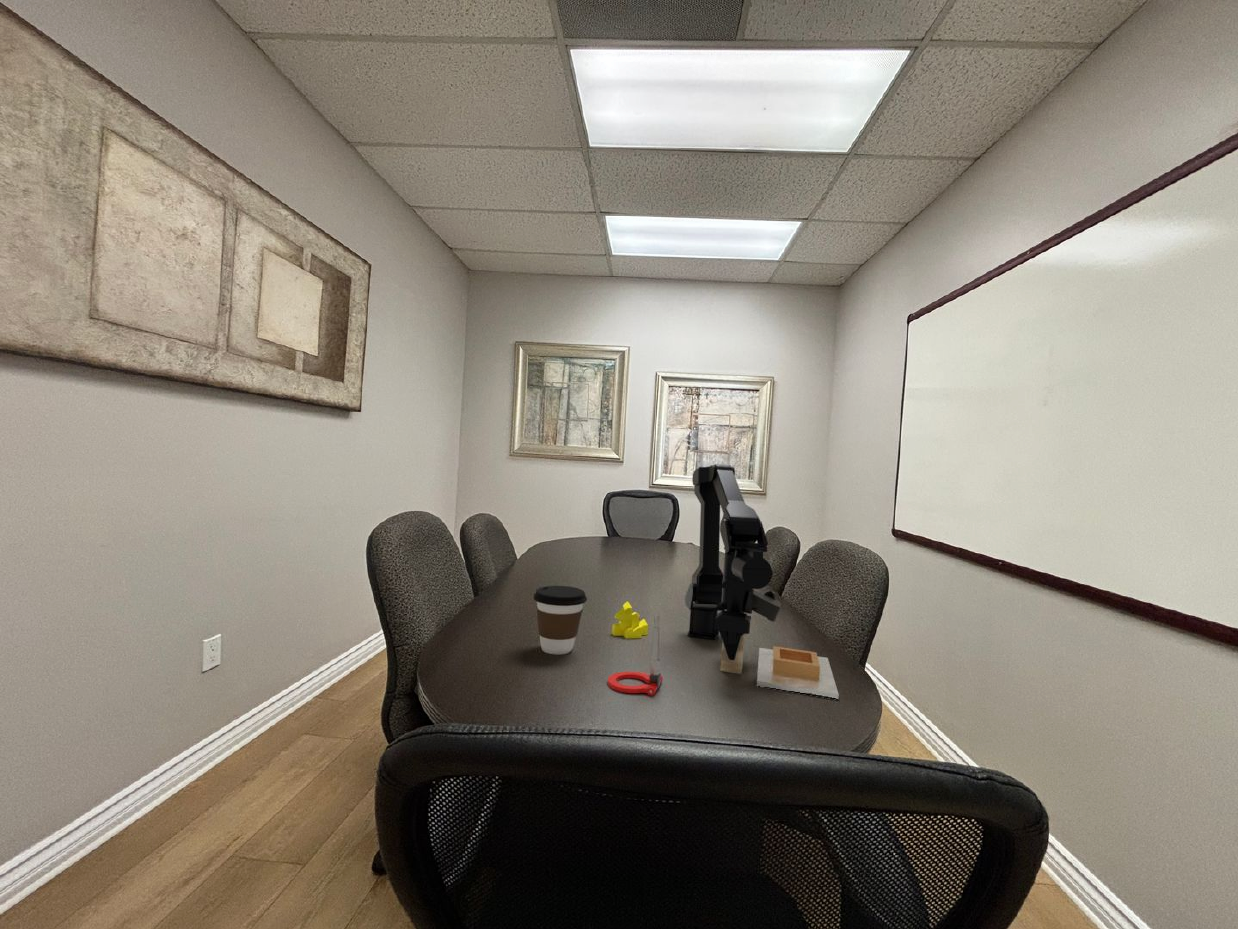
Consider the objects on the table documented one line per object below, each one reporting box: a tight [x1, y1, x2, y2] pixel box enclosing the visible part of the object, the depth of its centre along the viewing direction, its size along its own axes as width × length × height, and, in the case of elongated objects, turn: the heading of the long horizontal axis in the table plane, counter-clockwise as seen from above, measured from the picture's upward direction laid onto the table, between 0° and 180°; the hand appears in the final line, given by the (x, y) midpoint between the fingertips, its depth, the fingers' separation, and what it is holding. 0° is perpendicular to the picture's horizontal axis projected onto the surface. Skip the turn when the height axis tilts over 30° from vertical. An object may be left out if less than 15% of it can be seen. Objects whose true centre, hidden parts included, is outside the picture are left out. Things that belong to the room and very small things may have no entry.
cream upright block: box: [719, 634, 746, 675], centre depth 110 cm, size 4×4×8 cm
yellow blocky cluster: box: [611, 601, 649, 640], centre depth 128 cm, size 6×8×8 cm
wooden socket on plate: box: [756, 645, 840, 700], centre depth 110 cm, size 14×20×4 cm
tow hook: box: [607, 614, 663, 697], centre depth 99 cm, size 8×13×9 cm
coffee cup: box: [533, 585, 588, 655], centre depth 114 cm, size 11×11×12 cm
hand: (732, 656), depth 110 cm, fingers closed on cream upright block, 4 cm apart
